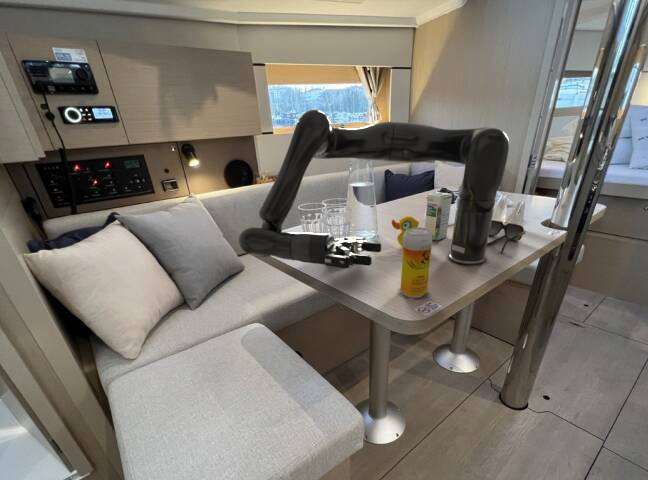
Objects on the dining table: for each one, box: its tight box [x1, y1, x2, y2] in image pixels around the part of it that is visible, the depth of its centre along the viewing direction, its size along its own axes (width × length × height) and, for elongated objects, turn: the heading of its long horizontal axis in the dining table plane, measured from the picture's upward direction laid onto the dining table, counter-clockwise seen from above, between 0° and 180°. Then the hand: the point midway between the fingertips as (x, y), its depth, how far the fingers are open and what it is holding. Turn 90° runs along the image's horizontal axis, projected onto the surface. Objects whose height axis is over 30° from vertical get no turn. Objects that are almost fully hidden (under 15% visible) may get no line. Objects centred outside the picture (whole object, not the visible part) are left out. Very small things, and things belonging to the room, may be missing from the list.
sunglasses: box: [489, 220, 527, 254], centre depth 101 cm, size 14×15×5 cm
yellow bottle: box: [400, 226, 433, 299], centre depth 71 cm, size 6×6×15 cm
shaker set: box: [492, 194, 526, 227], centre depth 112 cm, size 12×4×11 cm, turn 30°
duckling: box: [391, 215, 420, 248], centre depth 98 cm, size 11×5×10 cm, turn 74°
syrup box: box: [424, 191, 453, 241], centre depth 105 cm, size 6×6×14 cm
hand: (376, 253), depth 74 cm, fingers open, 8 cm apart
